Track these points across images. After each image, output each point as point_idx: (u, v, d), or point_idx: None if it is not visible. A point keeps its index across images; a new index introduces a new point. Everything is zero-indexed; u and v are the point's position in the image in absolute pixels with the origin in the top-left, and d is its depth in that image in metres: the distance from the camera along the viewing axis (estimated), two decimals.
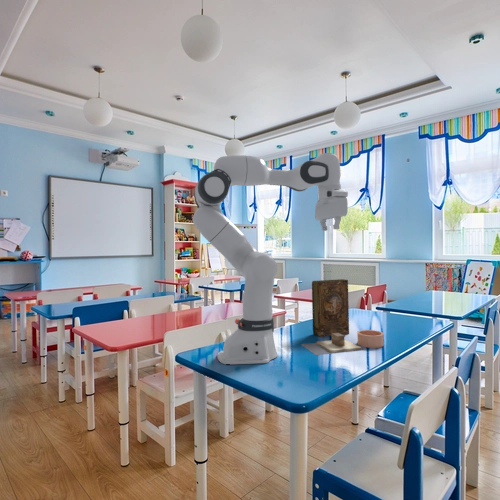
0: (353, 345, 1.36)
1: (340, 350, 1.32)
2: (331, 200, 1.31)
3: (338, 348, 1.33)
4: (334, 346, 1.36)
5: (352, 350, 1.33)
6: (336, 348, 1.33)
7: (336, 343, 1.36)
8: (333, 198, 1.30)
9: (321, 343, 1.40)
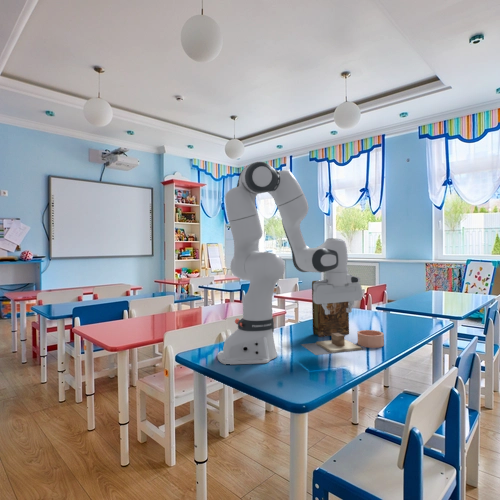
0: (353, 345, 1.36)
1: (340, 350, 1.32)
2: (354, 285, 1.37)
3: (338, 348, 1.33)
4: (334, 346, 1.36)
5: (352, 350, 1.33)
6: (336, 348, 1.33)
7: (336, 343, 1.36)
8: (357, 284, 1.38)
9: (321, 343, 1.40)
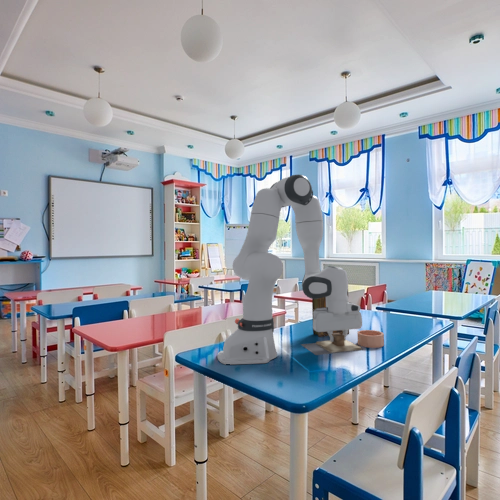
0: (353, 345, 1.36)
1: (340, 350, 1.32)
2: (354, 313, 1.38)
3: (338, 348, 1.33)
4: (334, 346, 1.36)
5: (352, 350, 1.33)
6: (336, 348, 1.33)
7: (336, 343, 1.36)
8: (357, 312, 1.38)
9: (321, 343, 1.40)
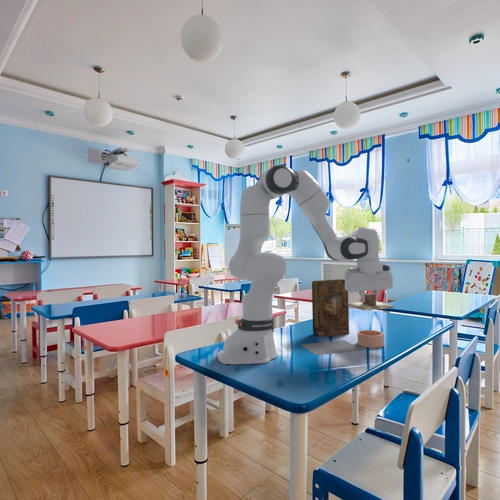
0: (385, 304, 1.39)
1: (373, 308, 1.34)
2: (385, 274, 1.40)
3: (371, 307, 1.35)
4: (366, 305, 1.38)
5: (352, 350, 1.33)
6: (369, 307, 1.35)
7: (368, 302, 1.39)
8: (388, 272, 1.40)
9: (352, 304, 1.43)
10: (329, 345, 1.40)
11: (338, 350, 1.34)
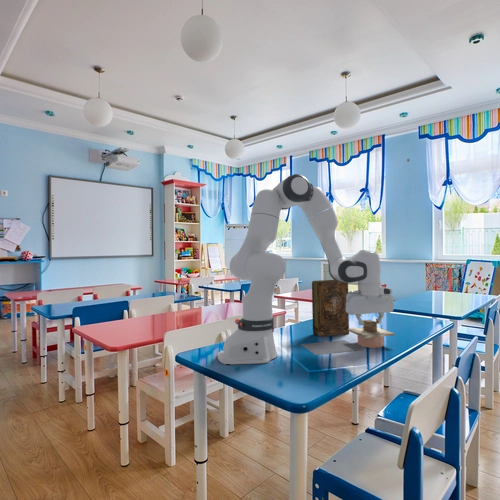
0: (385, 331, 1.39)
1: (374, 336, 1.34)
2: (386, 297, 1.40)
3: (371, 334, 1.35)
4: (367, 332, 1.38)
5: (352, 350, 1.33)
6: (369, 334, 1.35)
7: (369, 329, 1.39)
8: (389, 295, 1.40)
9: (353, 330, 1.43)
10: (329, 345, 1.40)
11: (338, 350, 1.34)
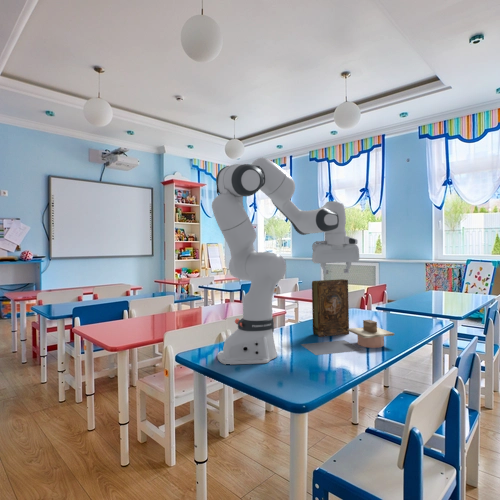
0: (385, 331, 1.39)
1: (374, 336, 1.34)
2: (352, 247, 1.44)
3: (371, 334, 1.35)
4: (367, 332, 1.38)
5: (352, 350, 1.33)
6: (369, 334, 1.35)
7: (369, 329, 1.39)
8: (355, 246, 1.44)
9: (353, 330, 1.43)
10: (329, 345, 1.40)
11: (338, 350, 1.34)
